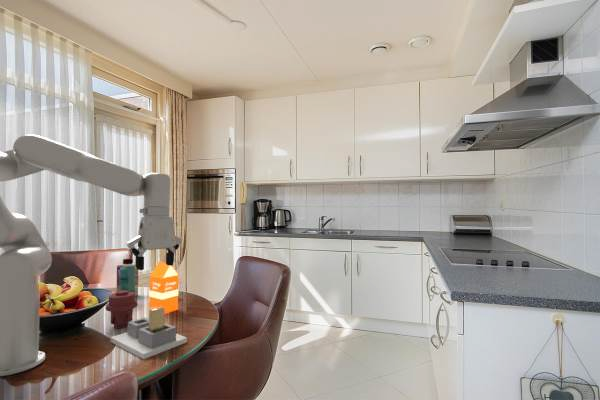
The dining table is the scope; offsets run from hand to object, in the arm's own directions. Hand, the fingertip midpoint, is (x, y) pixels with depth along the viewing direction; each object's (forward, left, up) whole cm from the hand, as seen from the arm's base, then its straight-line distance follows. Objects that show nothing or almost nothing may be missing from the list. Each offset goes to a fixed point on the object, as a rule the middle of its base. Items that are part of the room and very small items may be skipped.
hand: (155, 267), depth 98 cm
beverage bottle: (+18, +53, -25) cm, 61 cm away
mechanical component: (+3, +26, -25) cm, 36 cm away
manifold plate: (+1, +4, -24) cm, 25 cm away
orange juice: (+22, +30, -25) cm, 44 cm away
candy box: (+24, +65, -25) cm, 73 cm away
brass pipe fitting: (0, -1, -23) cm, 23 cm away
